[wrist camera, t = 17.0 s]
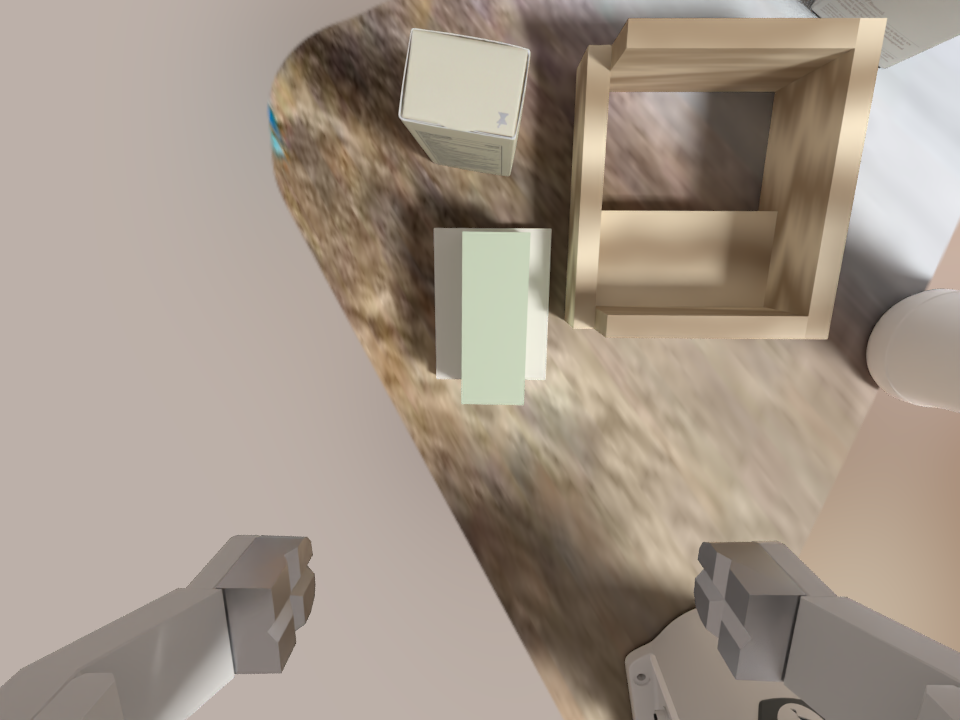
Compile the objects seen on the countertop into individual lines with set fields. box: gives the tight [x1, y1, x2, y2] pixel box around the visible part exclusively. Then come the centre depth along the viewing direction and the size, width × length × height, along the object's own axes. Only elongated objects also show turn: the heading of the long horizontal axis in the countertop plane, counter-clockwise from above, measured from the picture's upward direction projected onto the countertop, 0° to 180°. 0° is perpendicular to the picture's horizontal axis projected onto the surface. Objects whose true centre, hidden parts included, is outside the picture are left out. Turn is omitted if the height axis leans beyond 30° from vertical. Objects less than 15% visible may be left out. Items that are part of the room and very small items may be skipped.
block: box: [461, 231, 531, 405], centre depth 34 cm, size 12×4×5 cm, turn 179°
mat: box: [434, 228, 552, 380], centre depth 37 cm, size 12×9×1 cm
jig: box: [565, 18, 887, 339], centre depth 32 cm, size 18×16×8 cm
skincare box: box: [398, 28, 531, 176], centre depth 29 cm, size 6×4×12 cm
